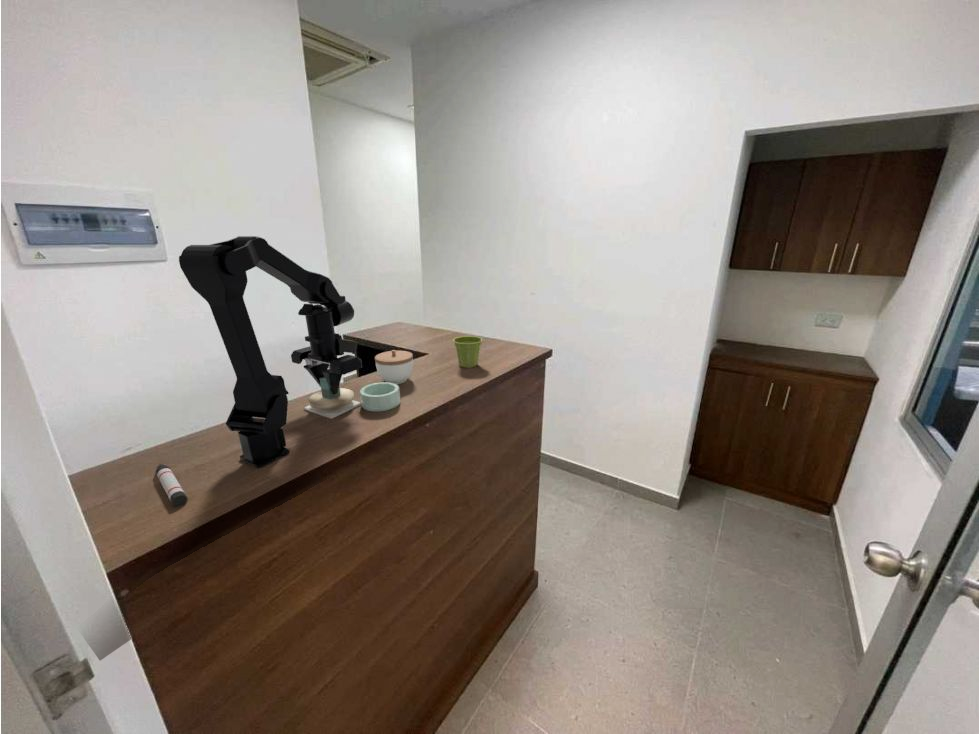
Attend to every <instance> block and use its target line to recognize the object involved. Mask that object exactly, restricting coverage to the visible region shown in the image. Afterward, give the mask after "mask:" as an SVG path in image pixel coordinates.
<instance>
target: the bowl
mask: <svg viewBox="0 0 979 734" xmlns="http://www.w3.org/2000/svg"><path fill="white" fill-rule="evenodd" d="M359 396H360V402H361V408H362V409H363V410H365V411H367V412H372V413H375V412H376V413H378V412H380V413H381V412H386V411H389V410H393V409H395V408H396V407H398V406H399V405H400V403H401V392H400V386H399V384H394V383H390V382H386V381H385V382H383V381H382V382H380V381H379V382H375V383H369V384H367V385H365V386H363V387H362V388H360V390H359Z"/></svg>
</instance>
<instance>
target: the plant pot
mask: <svg viewBox="0 0 979 734" xmlns="http://www.w3.org/2000/svg"><path fill="white" fill-rule="evenodd" d="M452 342H453V343H454V347H455V349H456V350H455V351H456V355H457V359H458V365H459V367H465V369H466V368H475V367H476V366H478V364H479V355H480V350H481V349H480V347H481V344H482V342H483V339H482V337H479V336H473V335H472V336H471V335H465V336H459V337H455V338H453V339H452Z"/></svg>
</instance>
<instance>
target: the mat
mask: <svg viewBox="0 0 979 734" xmlns="http://www.w3.org/2000/svg"><path fill="white" fill-rule="evenodd" d="M360 406H362V403H361V401H356V400H354V399H353V400H352V401H351V402H350V403H348V404H346V405H343V406H340V407H336V408H331V409H317V408H313V407H311V406H310V404H309V405H307V406H305V407H304V408H303V409H304V410H305V411H308V412H310V413H313V414H316V415H319V416H322V417H325V418H328V419H331V420H332V419H334V418H336V417H338V416H340V415H342V414H345V413H347V412H349V411H351V410H354V409H355V408H357V407H360Z"/></svg>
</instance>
